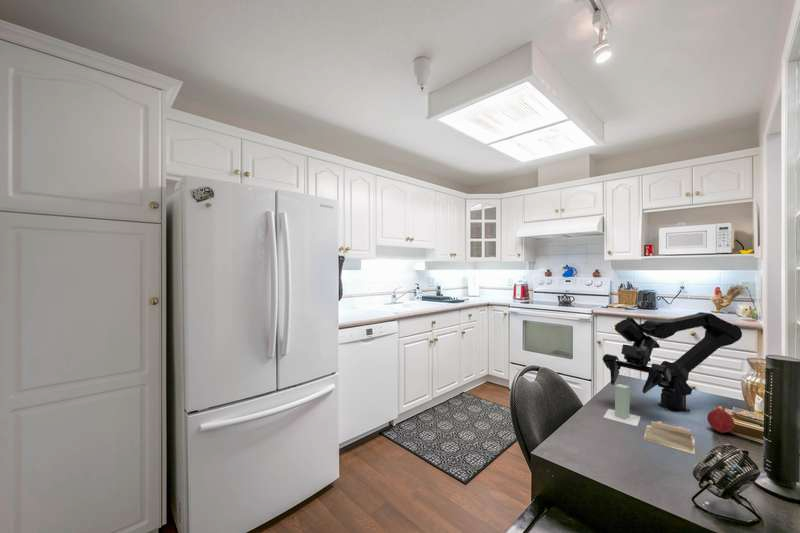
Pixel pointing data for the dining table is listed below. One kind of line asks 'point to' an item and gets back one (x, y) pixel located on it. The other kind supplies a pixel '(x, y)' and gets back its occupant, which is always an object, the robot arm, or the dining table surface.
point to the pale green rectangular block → (622, 401)
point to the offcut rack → (670, 436)
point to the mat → (631, 420)
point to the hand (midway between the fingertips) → (627, 388)
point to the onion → (720, 420)
